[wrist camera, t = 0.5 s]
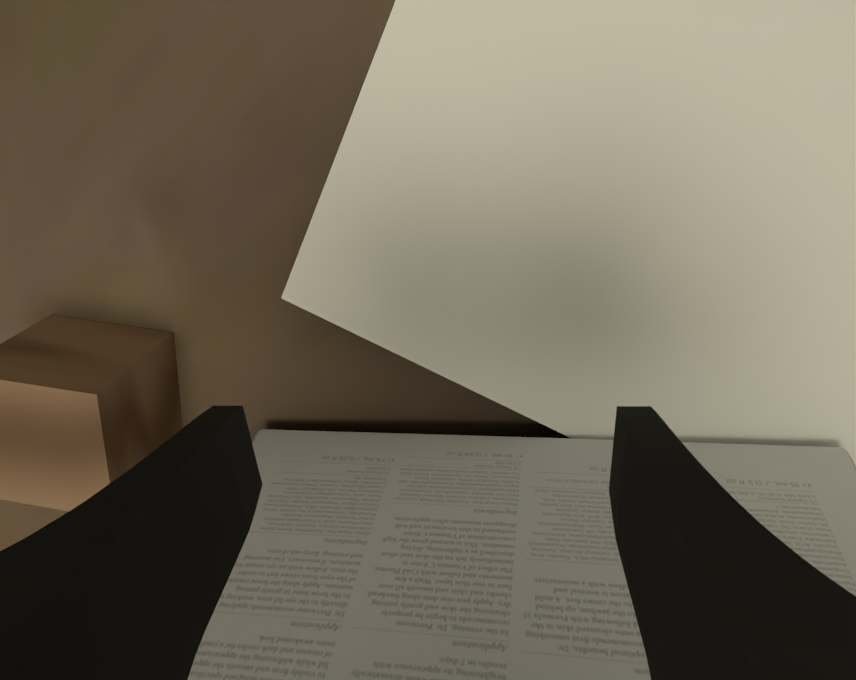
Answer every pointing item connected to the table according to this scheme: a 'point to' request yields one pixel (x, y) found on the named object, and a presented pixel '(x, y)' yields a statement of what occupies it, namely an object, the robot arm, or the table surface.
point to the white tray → (607, 212)
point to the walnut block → (82, 407)
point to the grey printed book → (473, 555)
